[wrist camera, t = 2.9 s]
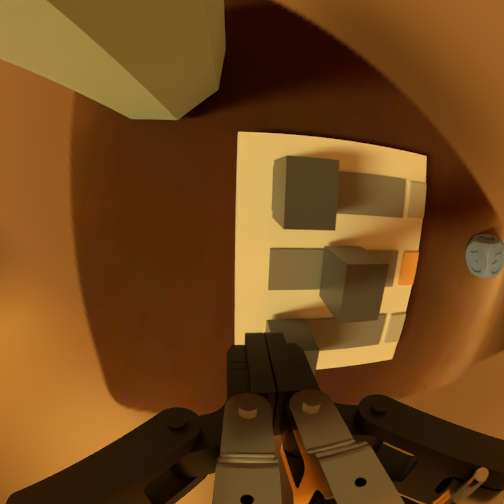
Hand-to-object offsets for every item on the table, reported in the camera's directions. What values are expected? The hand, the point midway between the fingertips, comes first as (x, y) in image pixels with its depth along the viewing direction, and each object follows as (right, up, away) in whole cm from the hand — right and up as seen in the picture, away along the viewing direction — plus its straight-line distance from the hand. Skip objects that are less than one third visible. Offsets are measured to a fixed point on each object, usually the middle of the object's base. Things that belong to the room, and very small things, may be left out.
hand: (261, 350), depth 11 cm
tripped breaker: (+6, +3, +10) cm, 12 cm away
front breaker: (+3, +8, +8) cm, 12 cm away
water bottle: (-7, +19, +8) cm, 22 cm away
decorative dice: (+26, +4, +15) cm, 30 cm away
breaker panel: (+6, +3, +13) cm, 15 cm away
